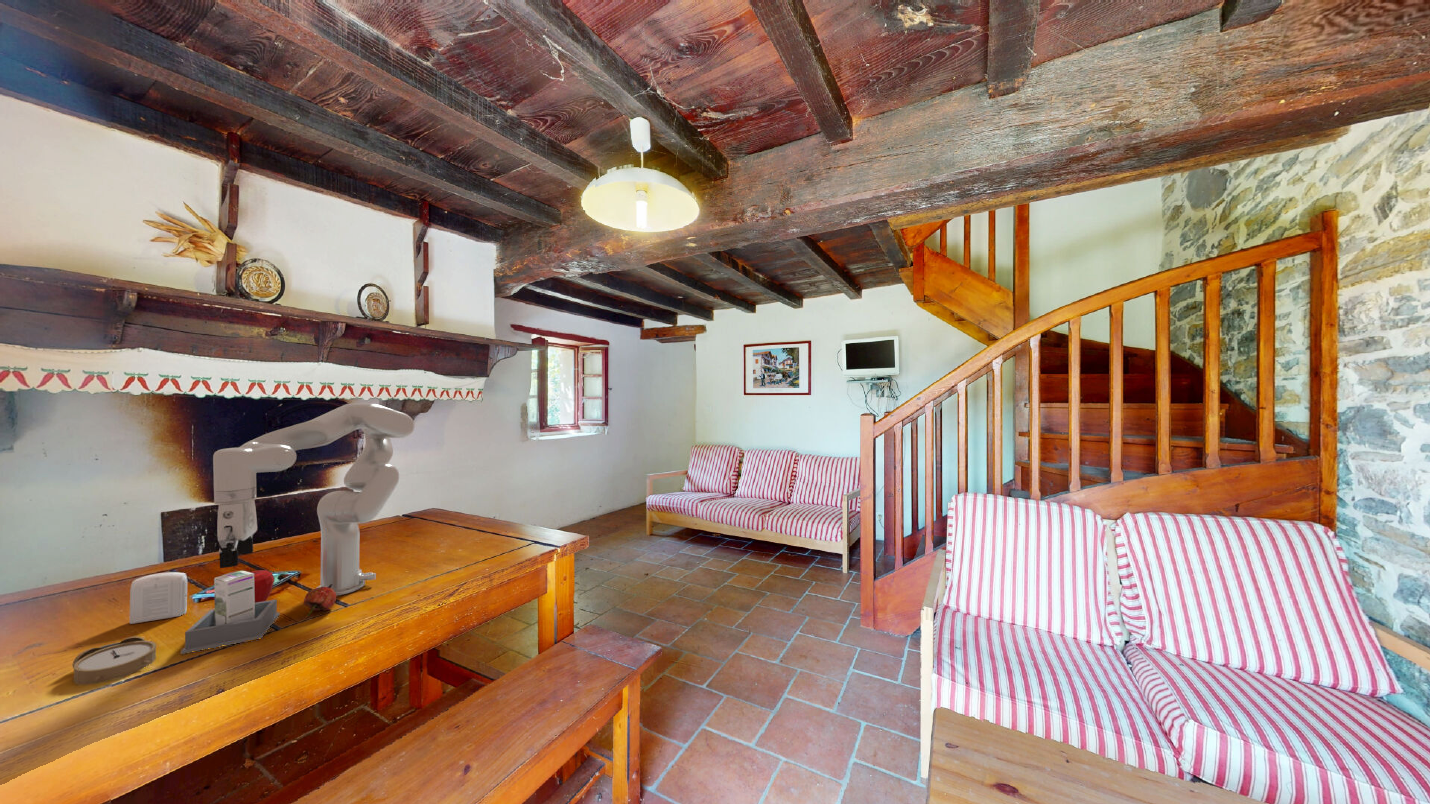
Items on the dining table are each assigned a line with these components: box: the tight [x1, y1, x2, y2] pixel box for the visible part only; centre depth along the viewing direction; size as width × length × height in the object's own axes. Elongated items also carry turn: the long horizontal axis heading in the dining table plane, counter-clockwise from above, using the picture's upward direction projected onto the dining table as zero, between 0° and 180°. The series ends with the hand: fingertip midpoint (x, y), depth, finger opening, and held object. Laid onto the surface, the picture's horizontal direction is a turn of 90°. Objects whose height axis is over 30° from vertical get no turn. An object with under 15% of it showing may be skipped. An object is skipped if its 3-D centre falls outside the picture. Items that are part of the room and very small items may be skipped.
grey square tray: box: [180, 599, 281, 655], centre depth 116 cm, size 14×14×5 cm
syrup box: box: [213, 570, 255, 626], centre depth 116 cm, size 6×6×14 cm
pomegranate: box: [303, 584, 337, 616], centre depth 129 cm, size 7×7×10 cm
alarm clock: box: [72, 636, 157, 686], centre depth 102 cm, size 11×5×15 cm
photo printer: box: [129, 571, 188, 625], centre depth 124 cm, size 10×4×12 cm, turn 123°
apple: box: [249, 569, 275, 603], centre depth 131 cm, size 10×10×11 cm
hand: (237, 560), depth 117 cm, fingers open, 9 cm apart
